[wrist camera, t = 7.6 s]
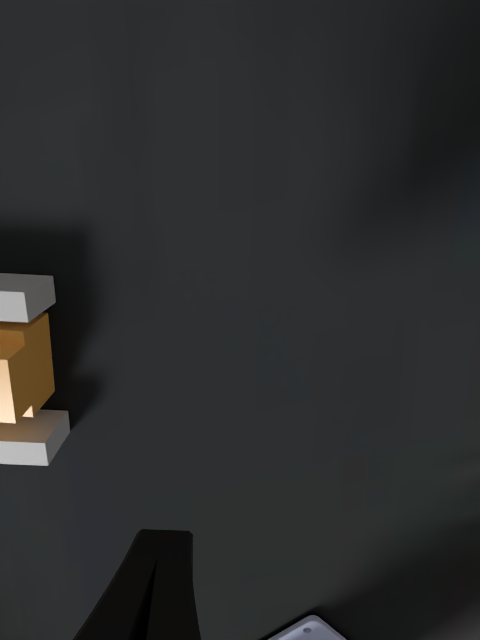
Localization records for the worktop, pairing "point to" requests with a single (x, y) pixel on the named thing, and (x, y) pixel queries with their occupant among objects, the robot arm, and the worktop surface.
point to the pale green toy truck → (47, 425)
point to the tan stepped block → (25, 368)
